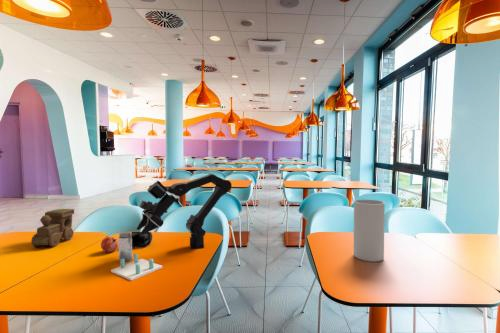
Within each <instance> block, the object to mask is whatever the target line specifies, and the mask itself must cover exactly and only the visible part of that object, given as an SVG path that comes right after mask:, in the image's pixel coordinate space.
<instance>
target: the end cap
mask: <svg viewBox="0 0 500 333" xmlns="http://www.w3.org/2000/svg"><path fill="white" fill-rule="evenodd" d="M130 233H131V236H132V248H143V249H144V248H147V247H148V246H150V245H151V243H152V242H153V233H152V232H151V231H149V232H147V233H145V234H143V235H141V234H140V233H141V231H131V232H130Z"/></svg>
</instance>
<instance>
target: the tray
mask: <svg viewBox="0 0 500 333" xmlns="http://www.w3.org/2000/svg"><path fill="white" fill-rule="evenodd" d="M120 261H121V262H120V266H118V267H115V268H113V269H111V270H110V272H111V273H112V274H114V275H118V276H119V277H122V278H123V279H126V280H128V281H133V280H136V279H139V278H141V277H143V276H146V275H148V274H150V273H153V272H156V271H157V270H160V269H163V265H161V264H158V263H155V262H154V259H153V258H149V260H146V259H144V258H140V259H139V253H134V254H133V261H132V262H128V263H126V262H125V258H122V259H120Z"/></svg>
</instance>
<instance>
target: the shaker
mask: <svg viewBox="0 0 500 333" xmlns="http://www.w3.org/2000/svg"><path fill="white" fill-rule="evenodd" d="M131 234H132V233H131V232H130V231H125V232H124V231H123V232H120V233H119V236H118V238H117V239H118V240H117V242H118V262H119V263H121V261H120V259H122V258H125V263H130V262H131V261H133V247H132V236H131Z"/></svg>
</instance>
